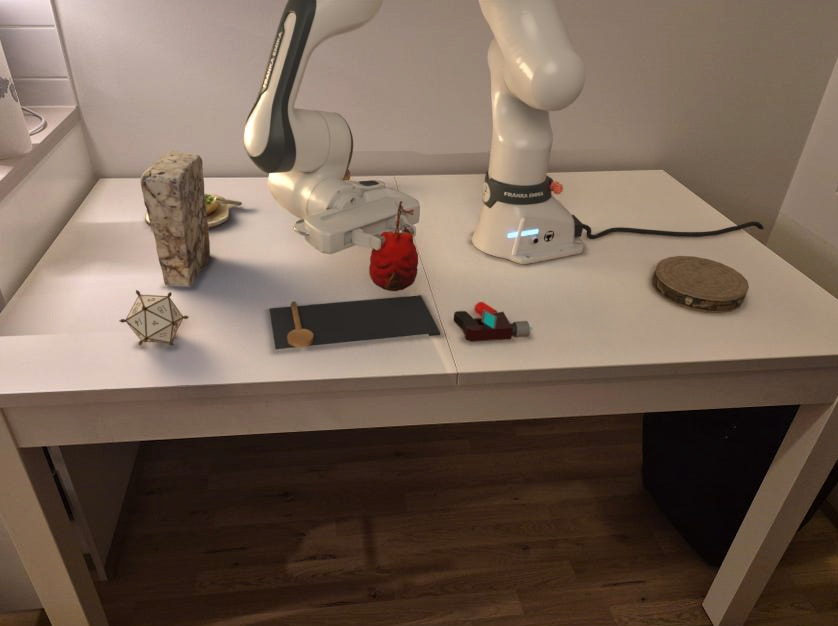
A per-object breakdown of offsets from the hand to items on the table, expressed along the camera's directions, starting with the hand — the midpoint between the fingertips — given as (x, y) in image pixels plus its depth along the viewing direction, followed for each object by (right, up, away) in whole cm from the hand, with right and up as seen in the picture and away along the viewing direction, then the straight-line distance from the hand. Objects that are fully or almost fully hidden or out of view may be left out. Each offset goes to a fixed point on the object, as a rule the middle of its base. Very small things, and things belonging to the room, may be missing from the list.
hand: (397, 238), depth 99 cm
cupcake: (-15, +20, +51) cm, 57 cm away
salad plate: (-45, +12, +38) cm, 60 cm away
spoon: (-16, -13, +5) cm, 21 cm away
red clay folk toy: (-1, -6, +5) cm, 8 cm away
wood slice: (+55, -6, +21) cm, 59 cm away
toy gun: (+15, -13, +8) cm, 22 cm away
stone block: (-38, -3, +19) cm, 42 cm away
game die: (-36, -16, +1) cm, 40 cm away
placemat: (-7, -12, +7) cm, 16 cm away
